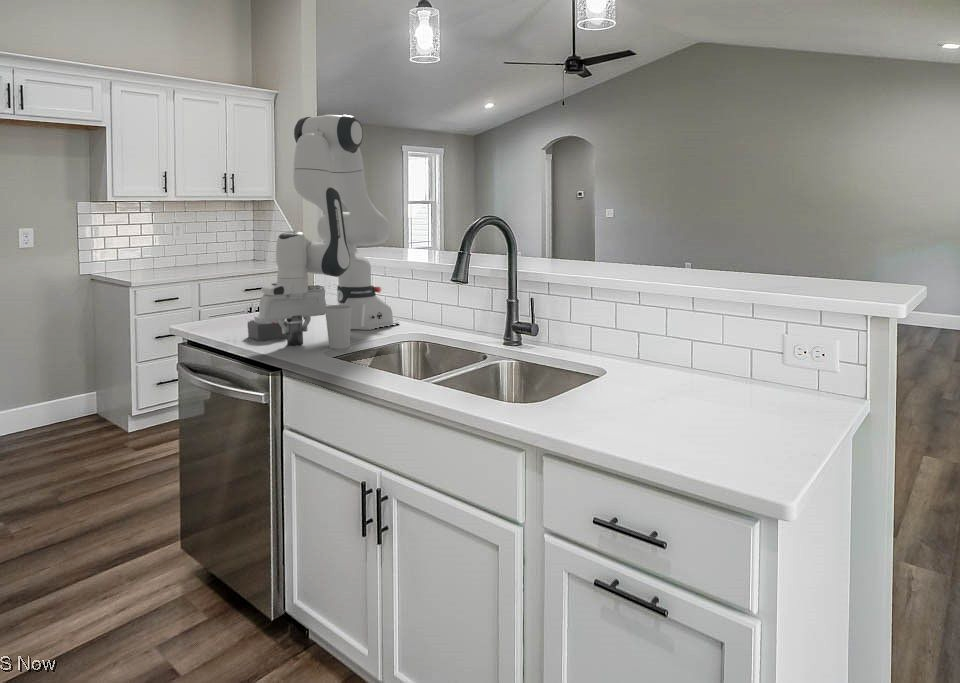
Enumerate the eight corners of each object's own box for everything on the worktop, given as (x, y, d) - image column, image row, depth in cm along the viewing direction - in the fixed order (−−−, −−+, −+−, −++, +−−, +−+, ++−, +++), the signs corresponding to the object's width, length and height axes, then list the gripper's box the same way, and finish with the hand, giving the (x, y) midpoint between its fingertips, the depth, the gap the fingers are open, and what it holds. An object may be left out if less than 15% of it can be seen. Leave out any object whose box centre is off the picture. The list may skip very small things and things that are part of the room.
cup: (320, 347, 207) (318, 307, 205) (339, 342, 214) (338, 304, 211) (339, 350, 203) (338, 309, 200) (358, 346, 209) (357, 306, 207)
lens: (299, 342, 214) (298, 311, 212) (306, 344, 210) (305, 313, 209) (284, 344, 211) (282, 313, 209) (291, 346, 207) (289, 315, 205)
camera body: (278, 333, 227) (277, 312, 226) (289, 337, 220) (288, 315, 219) (248, 337, 221) (247, 315, 219) (259, 341, 214) (258, 319, 213)
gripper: (319, 283, 216) (321, 327, 219) (255, 288, 203) (258, 334, 206) (329, 285, 211) (330, 330, 214) (264, 290, 199) (267, 337, 201)
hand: (294, 332), depth 210 cm, fingers closed on lens, 5 cm apart
